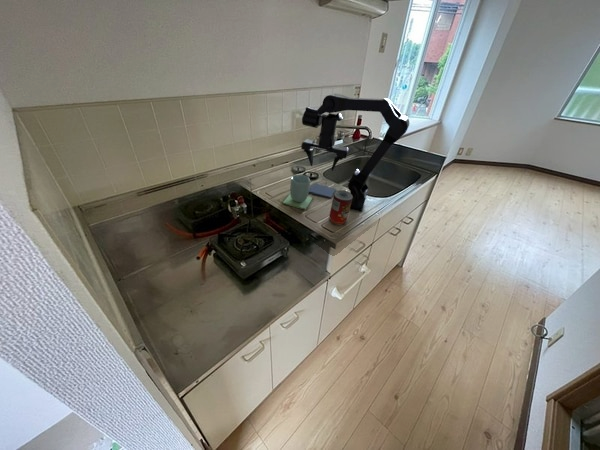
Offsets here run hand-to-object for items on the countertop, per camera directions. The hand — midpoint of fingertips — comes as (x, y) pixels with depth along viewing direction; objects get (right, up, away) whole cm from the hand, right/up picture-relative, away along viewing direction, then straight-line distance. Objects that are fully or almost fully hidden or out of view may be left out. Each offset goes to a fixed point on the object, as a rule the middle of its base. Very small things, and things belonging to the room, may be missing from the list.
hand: (321, 168), depth 102 cm
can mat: (+1, -9, +11) cm, 14 cm away
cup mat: (-10, -14, +1) cm, 17 cm away
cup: (-10, -14, +1) cm, 17 cm away
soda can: (+5, -23, -7) cm, 24 cm away
